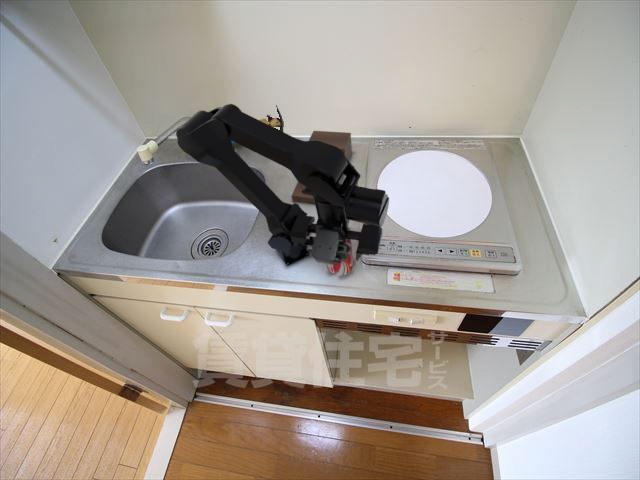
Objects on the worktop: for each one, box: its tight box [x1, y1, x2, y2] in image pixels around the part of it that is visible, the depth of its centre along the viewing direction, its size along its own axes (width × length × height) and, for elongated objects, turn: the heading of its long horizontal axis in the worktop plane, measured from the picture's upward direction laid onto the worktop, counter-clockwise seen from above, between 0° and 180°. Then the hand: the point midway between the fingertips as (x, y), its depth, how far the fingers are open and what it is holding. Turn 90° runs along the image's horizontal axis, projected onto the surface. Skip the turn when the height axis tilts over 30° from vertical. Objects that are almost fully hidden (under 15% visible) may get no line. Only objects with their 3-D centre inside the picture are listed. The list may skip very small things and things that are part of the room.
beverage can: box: [325, 239, 354, 277], centre depth 70 cm, size 6×6×12 cm
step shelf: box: [291, 130, 353, 205], centre depth 92 cm, size 24×12×8 cm, turn 163°
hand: (338, 256), depth 71 cm, fingers closed on beverage can, 8 cm apart
